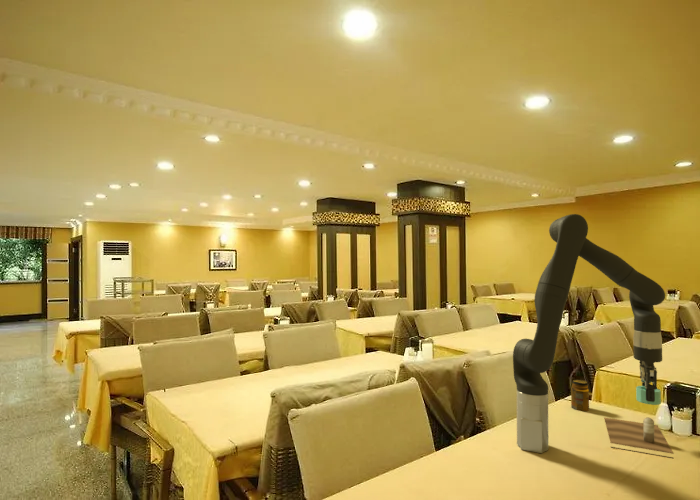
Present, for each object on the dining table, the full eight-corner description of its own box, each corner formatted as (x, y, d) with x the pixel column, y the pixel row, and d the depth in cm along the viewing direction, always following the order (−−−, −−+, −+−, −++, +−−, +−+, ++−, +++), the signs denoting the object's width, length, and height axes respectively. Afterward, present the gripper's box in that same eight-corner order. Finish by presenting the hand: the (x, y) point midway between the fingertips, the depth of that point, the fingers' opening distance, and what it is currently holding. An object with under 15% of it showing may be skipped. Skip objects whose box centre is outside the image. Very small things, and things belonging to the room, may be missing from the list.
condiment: (593, 413, 163) (593, 382, 163) (582, 418, 158) (582, 385, 158) (575, 407, 169) (574, 377, 169) (563, 412, 164) (563, 380, 164)
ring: (662, 406, 131) (662, 392, 131) (638, 402, 133) (638, 390, 133) (658, 399, 136) (658, 387, 136) (635, 397, 139) (635, 384, 139)
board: (673, 458, 126) (673, 428, 126) (610, 447, 133) (610, 419, 133) (657, 429, 147) (657, 403, 147) (604, 421, 154) (603, 396, 155)
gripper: (630, 340, 143) (630, 390, 143) (637, 348, 130) (637, 403, 130) (657, 342, 140) (658, 393, 139) (667, 350, 127) (667, 406, 127)
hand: (648, 397), depth 135 cm, fingers closed on ring, 6 cm apart
